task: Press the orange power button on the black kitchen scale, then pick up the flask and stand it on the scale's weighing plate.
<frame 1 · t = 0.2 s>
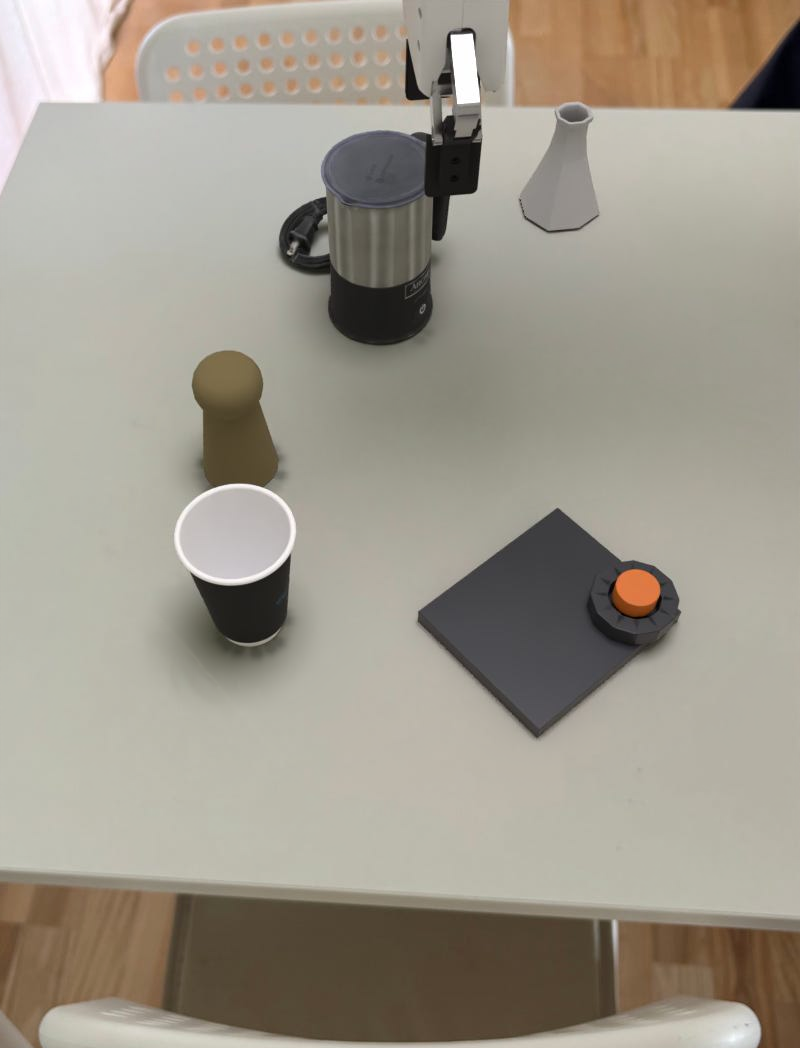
hand: (439, 142, 69), 25 cm above the table, tool pointing down, fingers open, 9 cm apart
power button: (636, 593, 76), point 3 cm above the table, slide at 0.1 cm
brown pawn: (241, 465, 88), on the table
dixie cup: (251, 619, 80), on the table
flask: (558, 209, 104), on the table
milk frother: (352, 284, 99), on the table
scale: (546, 621, 79), on the table
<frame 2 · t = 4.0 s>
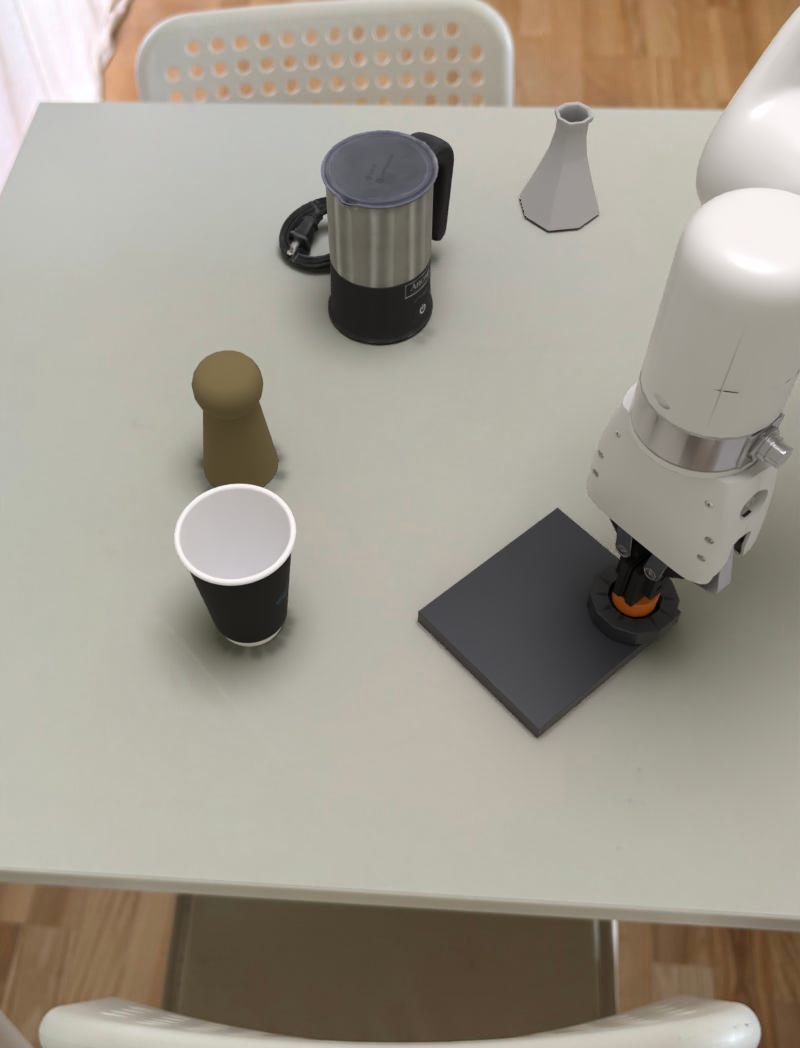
hand: (636, 588, 75), 4 cm above the table, tool pointing down, fingers closed
power button: (636, 593, 76), point 3 cm above the table, slide at 0.1 cm, touching gripper
everything else where it was.
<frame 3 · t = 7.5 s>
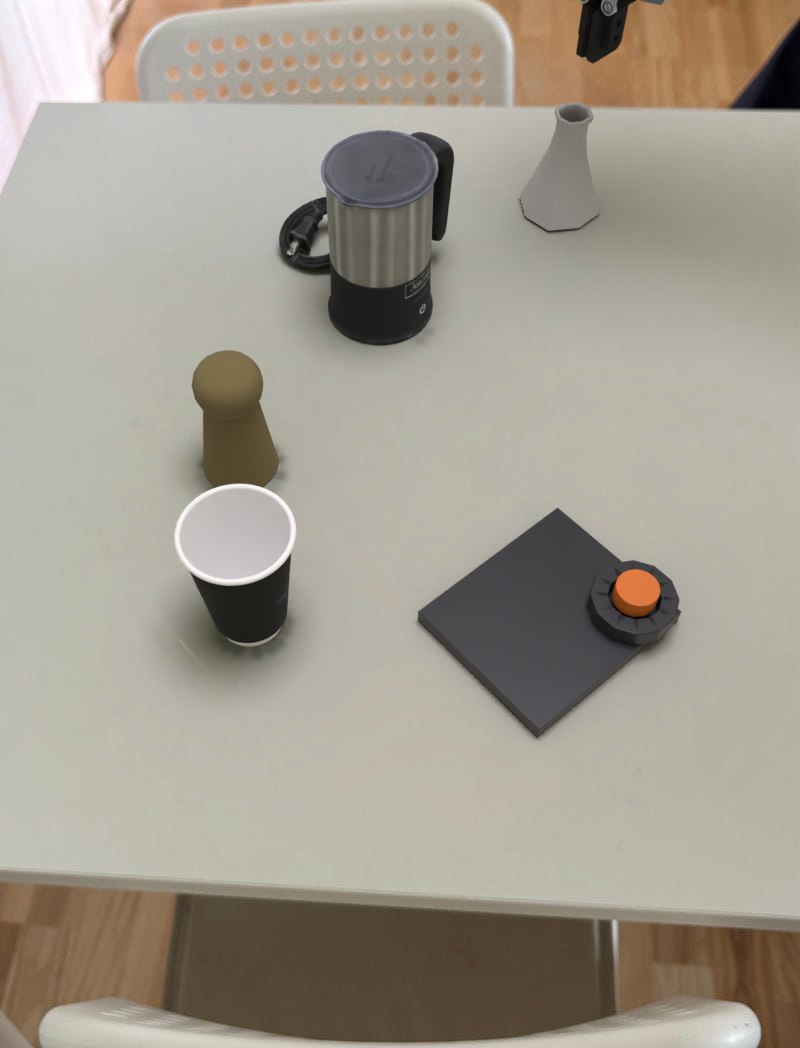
hand: (597, 51, 85), 19 cm above the table, tool pointing down, fingers closed
power button: (636, 593, 76), point 3 cm above the table, slide at 0.1 cm
everything else where it was.
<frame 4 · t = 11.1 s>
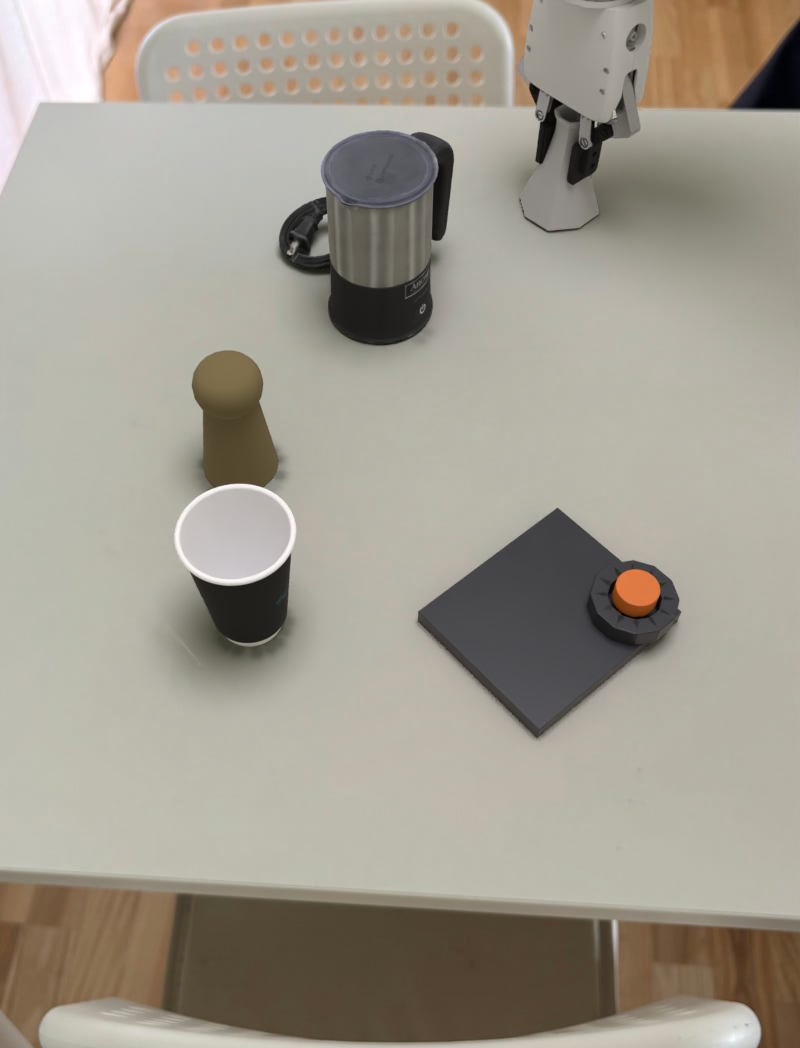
hand: (565, 165, 100), 5 cm above the table, tool pointing down, fingers closed on flask, 3 cm apart
flask: (558, 209, 104), on the table, touching gripper
everything else where it was.
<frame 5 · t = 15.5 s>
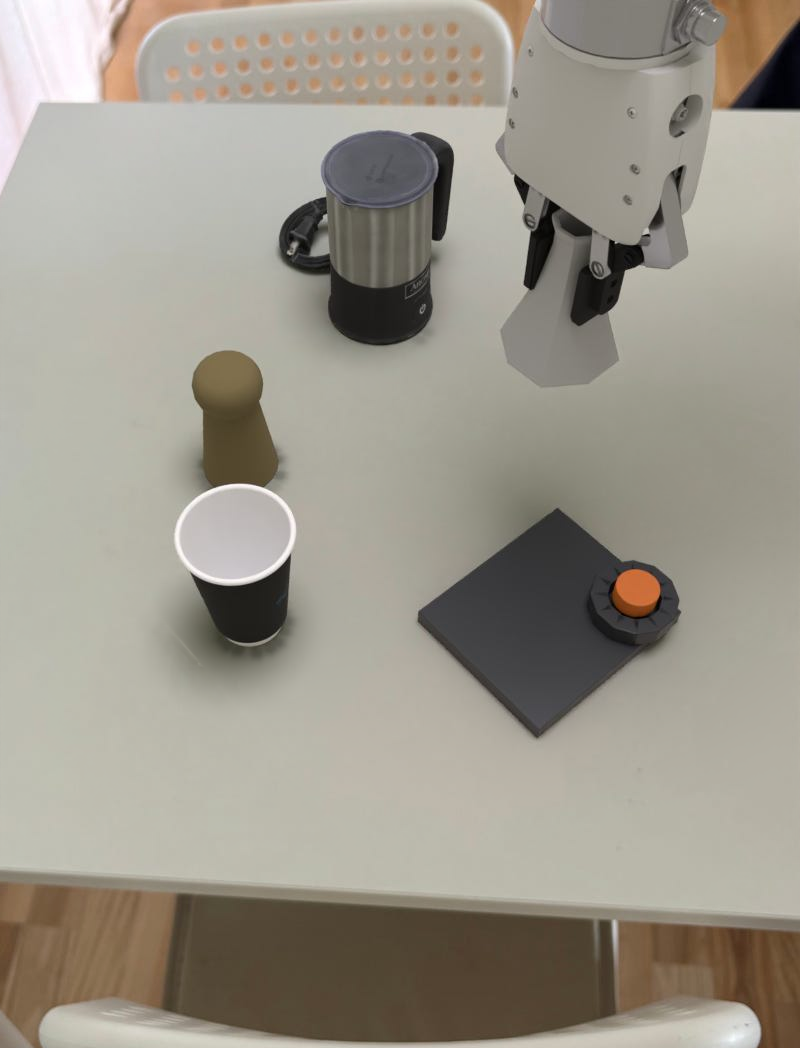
hand: (569, 293, 66), 22 cm above the table, tool pointing down, fingers closed on flask, 3 cm apart
flask: (557, 350, 70), point 17 cm above the table, touching gripper
everything else where it was.
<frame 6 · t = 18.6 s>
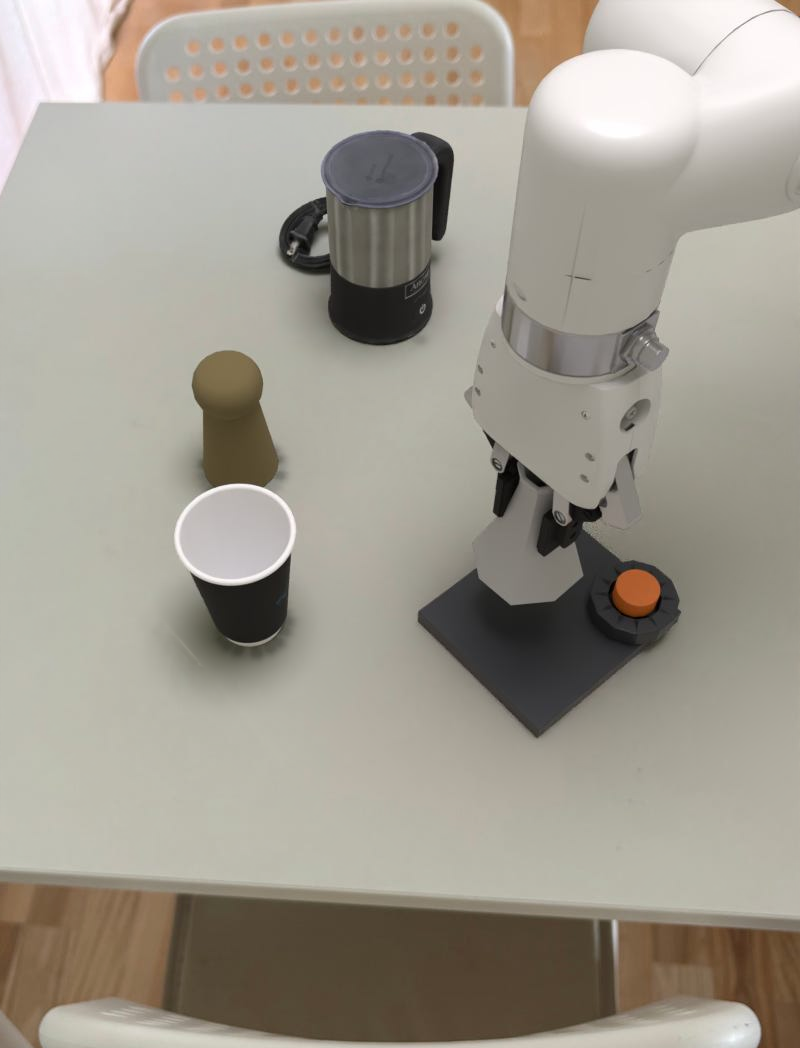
hand: (535, 521, 70), 11 cm above the table, tool pointing down, fingers closed on flask, 3 cm apart
flask: (526, 563, 74), point 6 cm above the table, touching gripper
everything else where it was.
when the fingers open (6 cm above the table, at t = 20.3 s): flask stays where it is, resting on scale.
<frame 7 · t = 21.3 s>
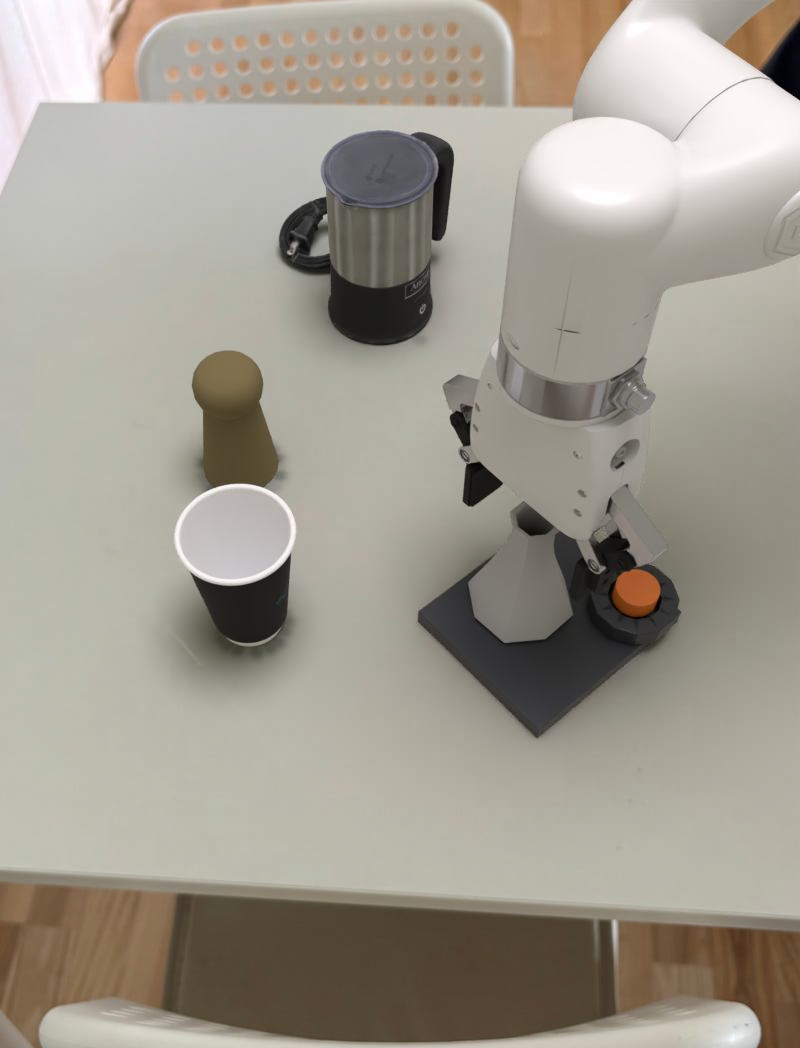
hand: (534, 538, 72), 9 cm above the table, tool pointing down, fingers open, 9 cm apart
flask: (519, 602, 78), point 1 cm above the table, touching scale
everything else where it was.
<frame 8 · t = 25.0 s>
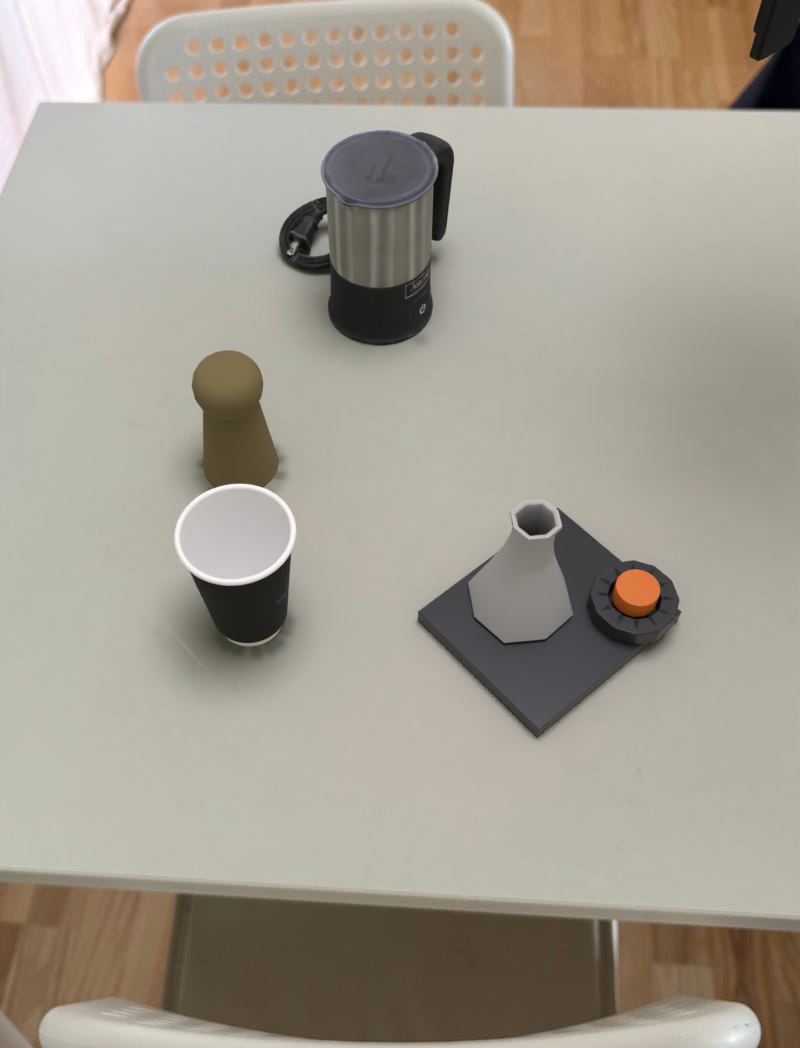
nothing on the table moved.
at the end: power button pushed in 0.9 cm at the most during the clip, back to where it started at the end; flask inside the target area on the scale (1.6 cm from its centre), point 1.2 cm above the scale's base; flask touching scale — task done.
